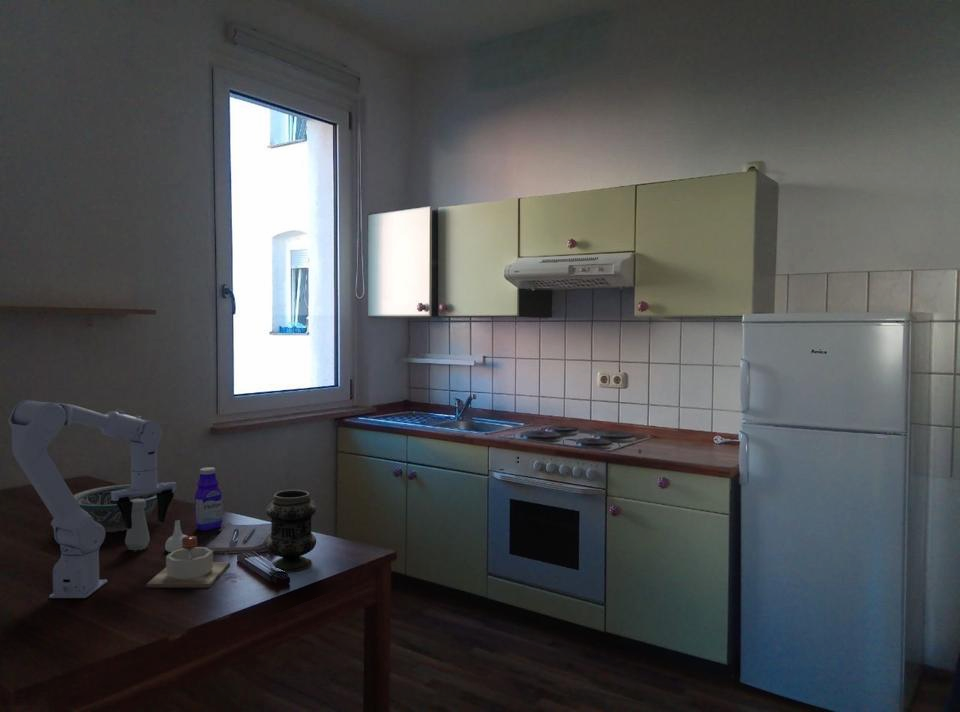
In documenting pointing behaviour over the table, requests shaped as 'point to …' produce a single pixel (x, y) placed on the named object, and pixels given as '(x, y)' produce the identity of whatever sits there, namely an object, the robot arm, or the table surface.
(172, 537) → the garlic bulb
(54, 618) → the table surface
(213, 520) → the bottle
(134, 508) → the salt shaker
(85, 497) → the bowl
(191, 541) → the plunger
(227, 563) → the board
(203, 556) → the press carafe
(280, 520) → the apothecary jar
